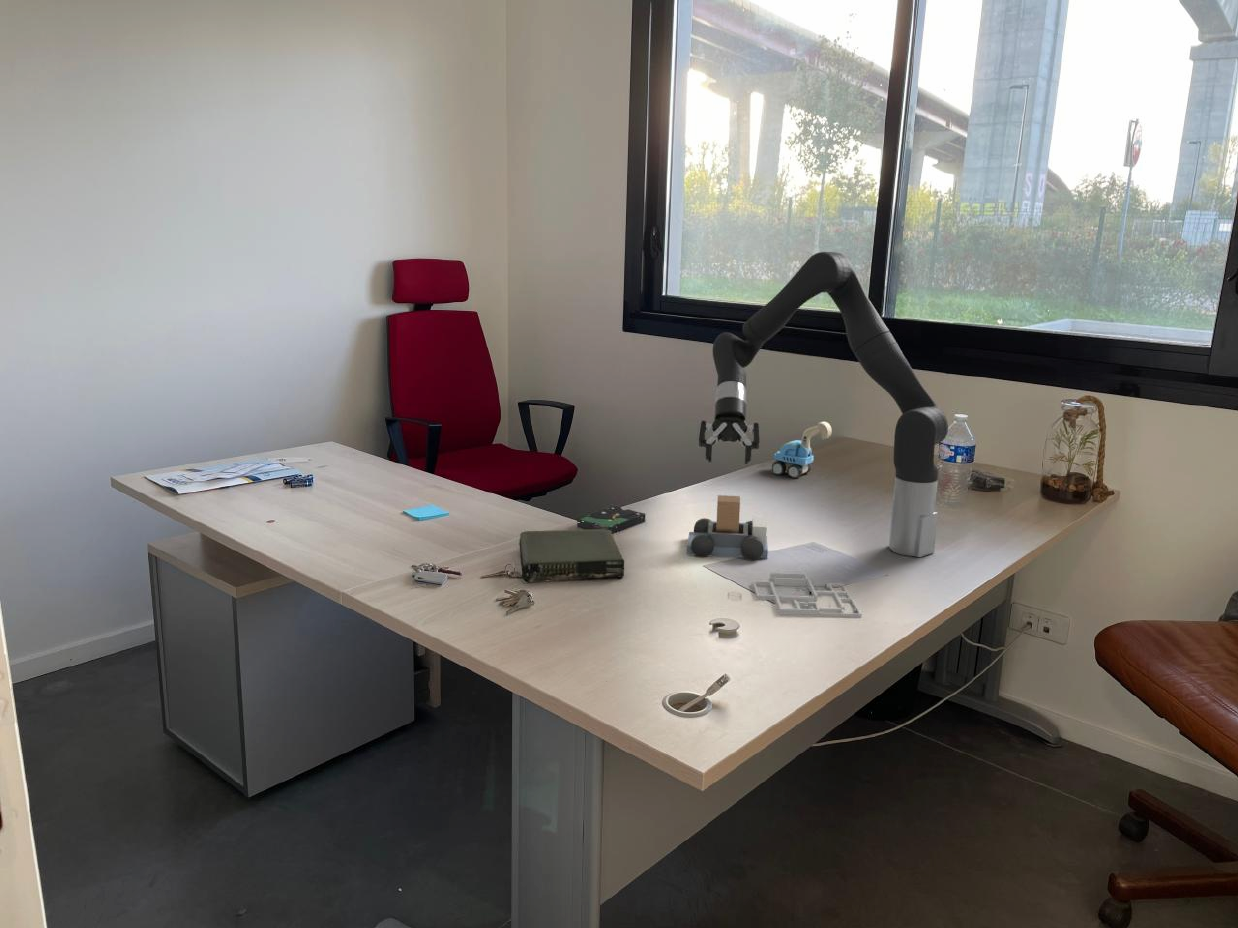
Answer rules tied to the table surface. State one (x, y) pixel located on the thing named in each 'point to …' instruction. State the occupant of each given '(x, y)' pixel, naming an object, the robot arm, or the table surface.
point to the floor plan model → (800, 601)
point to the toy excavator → (799, 452)
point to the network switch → (569, 555)
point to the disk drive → (611, 519)
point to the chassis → (729, 540)
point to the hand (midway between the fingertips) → (728, 461)
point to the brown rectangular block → (728, 514)
